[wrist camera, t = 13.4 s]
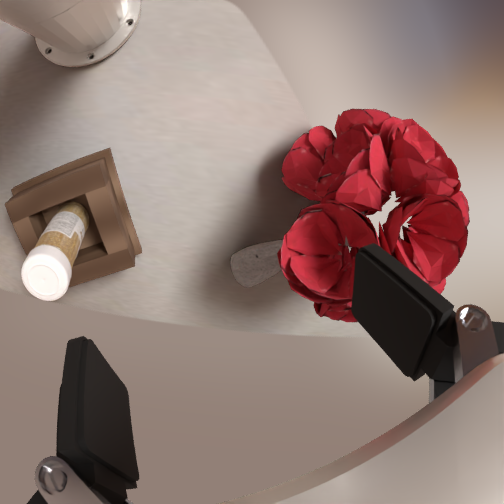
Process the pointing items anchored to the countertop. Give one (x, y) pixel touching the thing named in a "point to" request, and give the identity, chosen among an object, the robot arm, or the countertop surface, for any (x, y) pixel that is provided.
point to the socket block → (97, 205)
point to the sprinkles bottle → (55, 253)
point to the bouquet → (363, 209)
